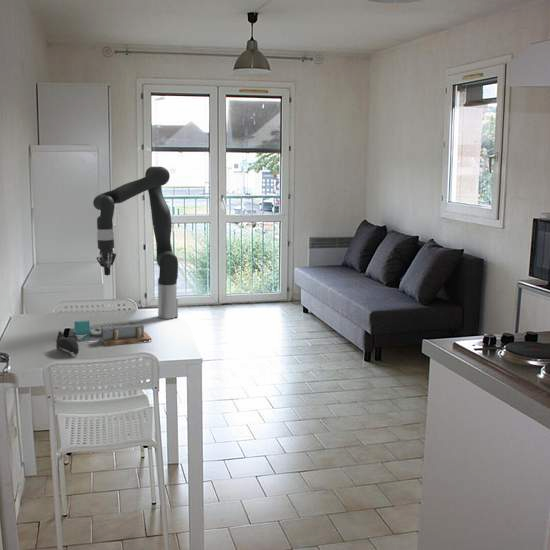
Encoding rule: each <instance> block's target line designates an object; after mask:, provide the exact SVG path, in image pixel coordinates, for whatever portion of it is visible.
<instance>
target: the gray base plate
mask: <svg viewBox="0 0 550 550" xmlns="http://www.w3.org/2000/svg"><path fill="white" fill-rule="evenodd" d="M83 340H85V341H95V340H101V335H100V336H94V335H90V334H87V335H86V336H84V337H83V338H81V339H78V340H77V342H81V341H82V342H84V341H83Z"/></svg>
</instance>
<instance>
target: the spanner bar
mask: <svg viewBox="0 0 550 550" xmlns="http://www.w3.org/2000/svg"><path fill="white" fill-rule="evenodd" d="M100 328H101V338H102V340H103V341H108V340H114V331H115V330H117V331H118V339H125V338H137V329H141V337H144V332H145V327H144V325H143V324H142V323H135V324H126V325H125V324H123V325H111V326H110V325H109V326H108V325H106V326H105V325H104V326H100ZM102 340H101V341H102ZM103 341H102V342H103Z"/></svg>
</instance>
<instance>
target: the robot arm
mask: <svg viewBox="0 0 550 550" xmlns="http://www.w3.org/2000/svg"><path fill="white" fill-rule="evenodd" d="M169 181H170V172H169V170H168V169H167V167H166V168H165V167H163V166H150V167H148V168H147V169H146V170H145V174H144V177H142V178H139V179H137V180H133V181H129V182H127V183H124V184H122V185H120V186H118V187H116V188H114V189H112V190H110V191H106V192H102V193H100V194H98V195H97V196H95V197H94V199H93V201H92V203H93V206H94V208H95V209H96V210H98V211H100V212H99V213H100V215H99V216H97V218H96V229H97V232H96V239H97V249H98V250H99V256H96V260H97V262H98V264H99V266H100V267H102V268H103V271H104V276H110V275H111V267H112V266H113V265H114V262H115V260H116V257H117V253H114V250H113V249H114V248H115V235H114V234H115V233H114V226H113V218H114V213H115V204H122V203H124V202H126V201H128V200H130V199H132V198H134V197H135V196H137V195H139V194H142V193H144V192H146V191H148V196H149V197H148V198H149V206H150V210H151V211H150V212H151V213H150V214H151V222H152V226H153V227H152V228H153V234H154V238H155V246H156V264H157V266H158V267H159V271H158V272H159V275H158V279H157V304H158V305H157V309H158V310H157V315H158V318H159V319H163V320H170V319H171V318H173V319H176V318H175V317H179V304H178V303H179V299H178V298H177V297H178V295H177V293H178V292H177V291H178V289H177V288H178V286H177V285H178V284H177V281H178V278H179V260H178V257H177V256H176V254H174V252H173V248H172V243H171V242H172V241H171V238H172V237H171V236H172V235H171V234H172V217H171V216H172V215H171V210H170V208H169V206H168V204H167V201H166V199H165V197H164V194H163V189H162V188H163V187H162V186H164V185H166V184H167V183H168V182H169ZM171 320H172V319H171Z"/></svg>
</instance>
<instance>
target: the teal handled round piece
mask: <svg viewBox="0 0 550 550" xmlns="http://www.w3.org/2000/svg"><path fill="white" fill-rule="evenodd" d="M73 322H74V323H73V326H74V330H75V334H74V336H75V335H86V334H90V335H94V336H100V335H101V327H96V328H95V327H94V328H91V327H90V326H91V325H90V320H74V321H73Z"/></svg>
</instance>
